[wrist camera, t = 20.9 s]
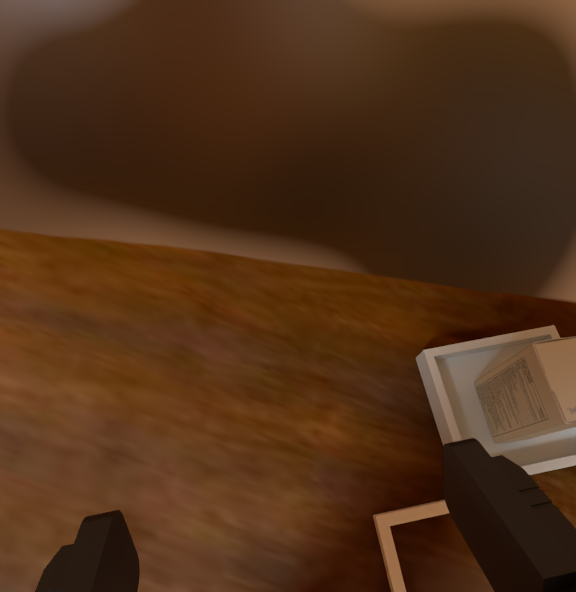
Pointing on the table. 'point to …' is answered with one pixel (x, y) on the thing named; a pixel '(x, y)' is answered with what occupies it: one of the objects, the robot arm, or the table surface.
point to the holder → (386, 539)
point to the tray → (466, 407)
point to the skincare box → (531, 392)
